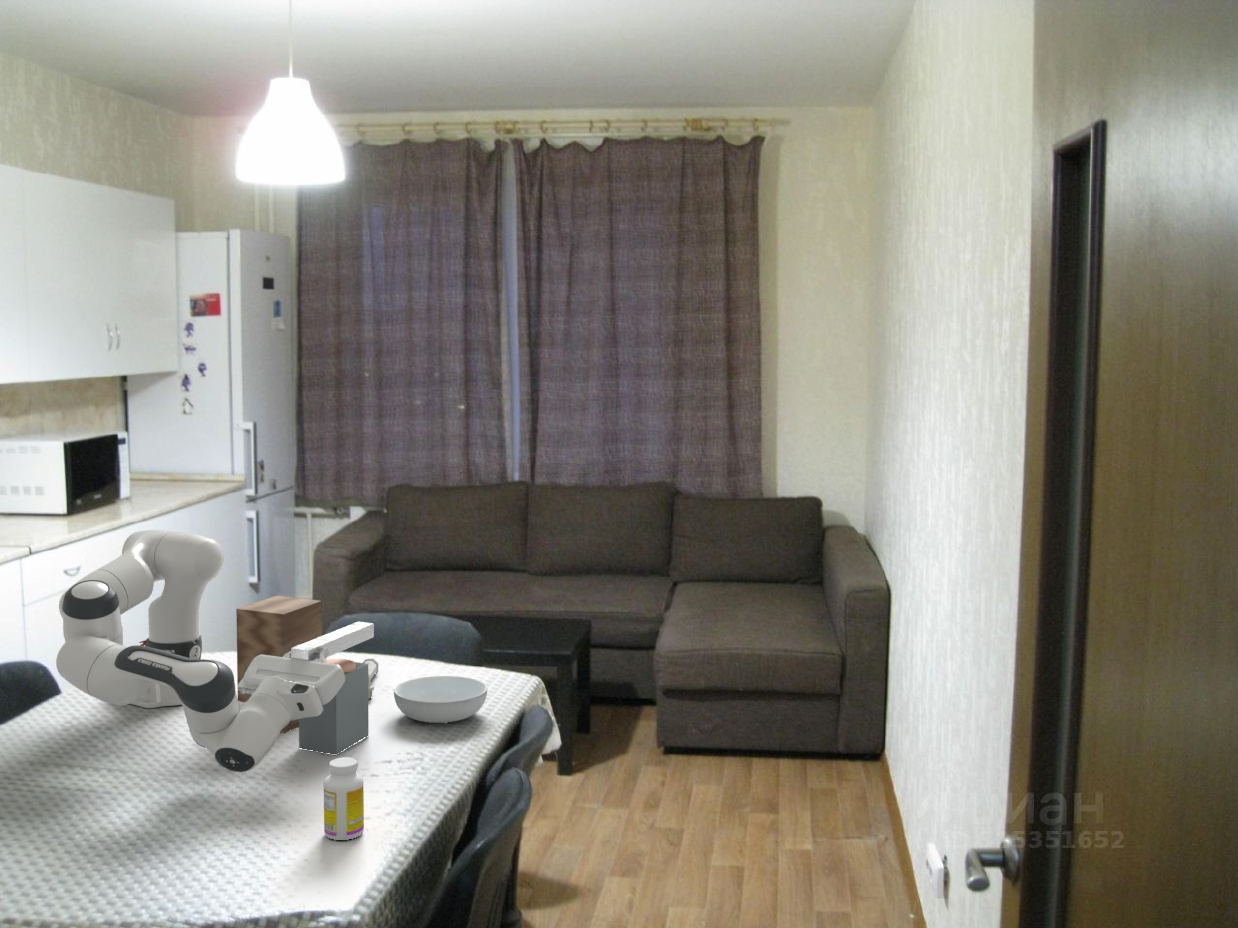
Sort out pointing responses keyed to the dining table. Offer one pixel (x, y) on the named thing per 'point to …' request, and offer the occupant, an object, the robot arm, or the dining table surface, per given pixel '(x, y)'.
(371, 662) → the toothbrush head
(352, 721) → the low block
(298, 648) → the white bar
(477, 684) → the serving bowl
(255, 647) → the stand
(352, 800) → the supplement bottle
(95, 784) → the dining table surface
